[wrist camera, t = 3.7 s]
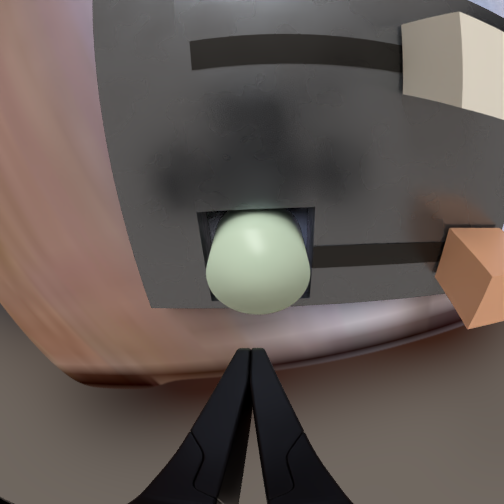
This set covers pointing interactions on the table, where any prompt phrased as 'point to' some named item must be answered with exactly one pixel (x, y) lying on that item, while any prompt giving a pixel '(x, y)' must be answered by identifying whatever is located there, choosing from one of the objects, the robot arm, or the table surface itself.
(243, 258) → the button
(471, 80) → the slider
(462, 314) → the slider
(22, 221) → the table surface
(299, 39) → the panel
